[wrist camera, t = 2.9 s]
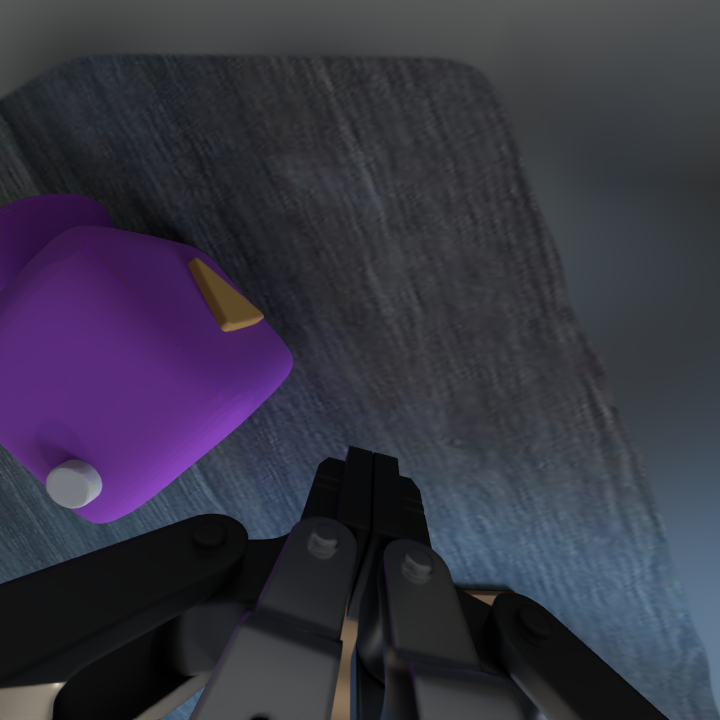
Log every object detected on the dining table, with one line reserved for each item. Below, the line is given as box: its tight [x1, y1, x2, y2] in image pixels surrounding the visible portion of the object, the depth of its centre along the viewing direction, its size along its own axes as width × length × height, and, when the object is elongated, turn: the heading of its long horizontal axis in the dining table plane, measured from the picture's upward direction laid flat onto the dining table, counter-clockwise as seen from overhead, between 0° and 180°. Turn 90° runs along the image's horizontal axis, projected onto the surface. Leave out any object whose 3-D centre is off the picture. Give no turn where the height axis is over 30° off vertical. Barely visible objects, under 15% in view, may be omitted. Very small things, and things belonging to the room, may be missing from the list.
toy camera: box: [0, 194, 293, 523], centre depth 17 cm, size 11×14×10 cm
